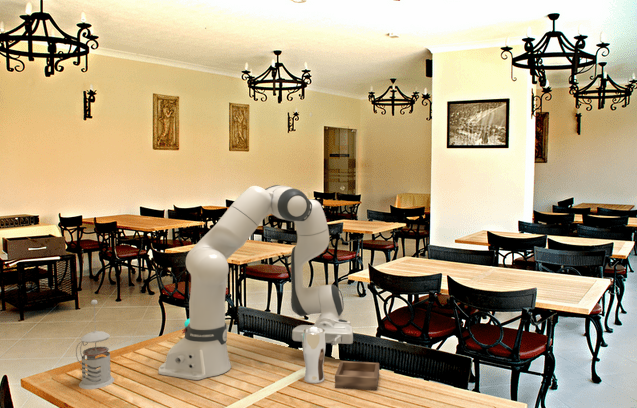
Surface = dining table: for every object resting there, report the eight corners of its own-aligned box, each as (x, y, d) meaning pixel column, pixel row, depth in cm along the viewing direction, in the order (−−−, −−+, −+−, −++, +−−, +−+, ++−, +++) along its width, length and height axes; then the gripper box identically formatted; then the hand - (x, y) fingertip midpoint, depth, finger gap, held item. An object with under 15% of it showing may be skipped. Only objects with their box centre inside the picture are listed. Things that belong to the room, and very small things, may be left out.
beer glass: (323, 385, 145) (323, 334, 145) (300, 383, 147) (299, 333, 146) (327, 375, 152) (327, 327, 152) (305, 374, 154) (305, 326, 153)
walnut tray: (335, 387, 143) (334, 375, 143) (340, 371, 155) (340, 360, 155) (376, 390, 141) (376, 378, 141) (379, 374, 153) (379, 363, 153)
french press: (98, 390, 143) (95, 304, 142) (66, 386, 147) (63, 302, 145) (121, 377, 152) (119, 297, 151) (91, 373, 156) (88, 294, 155)
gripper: (296, 318, 173) (287, 330, 160) (355, 321, 170) (350, 333, 156) (296, 336, 174) (287, 350, 160) (355, 339, 170) (350, 353, 156)
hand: (319, 342), depth 158 cm, fingers open, 8 cm apart
